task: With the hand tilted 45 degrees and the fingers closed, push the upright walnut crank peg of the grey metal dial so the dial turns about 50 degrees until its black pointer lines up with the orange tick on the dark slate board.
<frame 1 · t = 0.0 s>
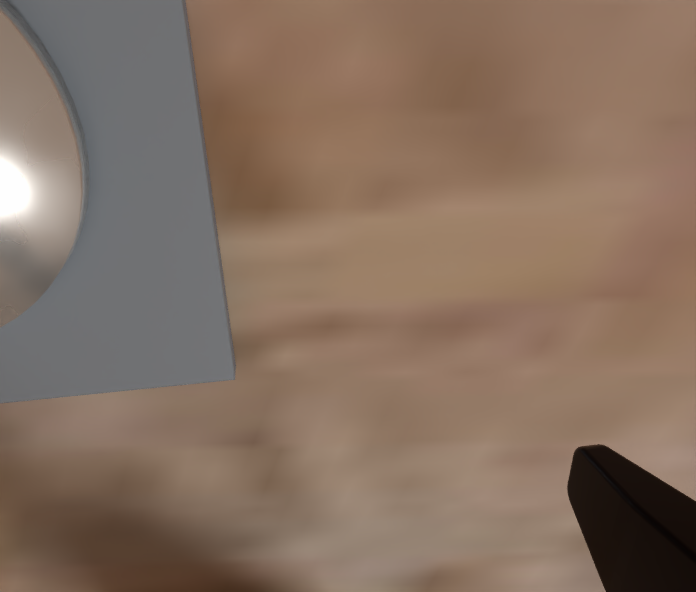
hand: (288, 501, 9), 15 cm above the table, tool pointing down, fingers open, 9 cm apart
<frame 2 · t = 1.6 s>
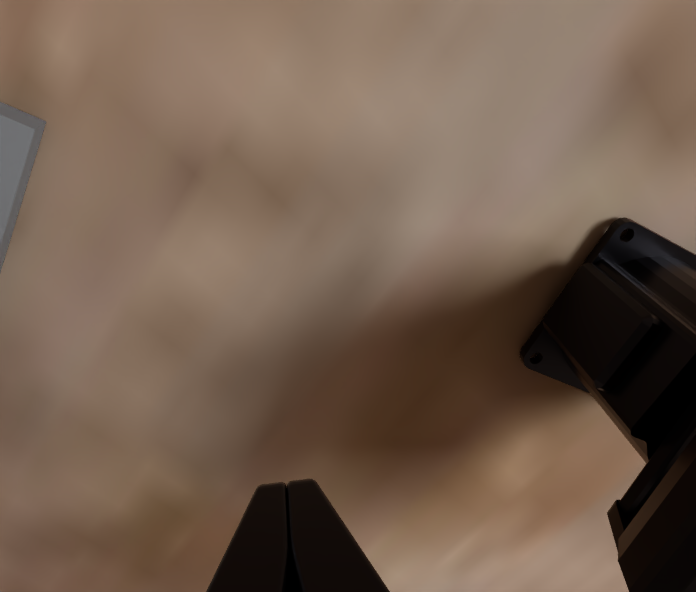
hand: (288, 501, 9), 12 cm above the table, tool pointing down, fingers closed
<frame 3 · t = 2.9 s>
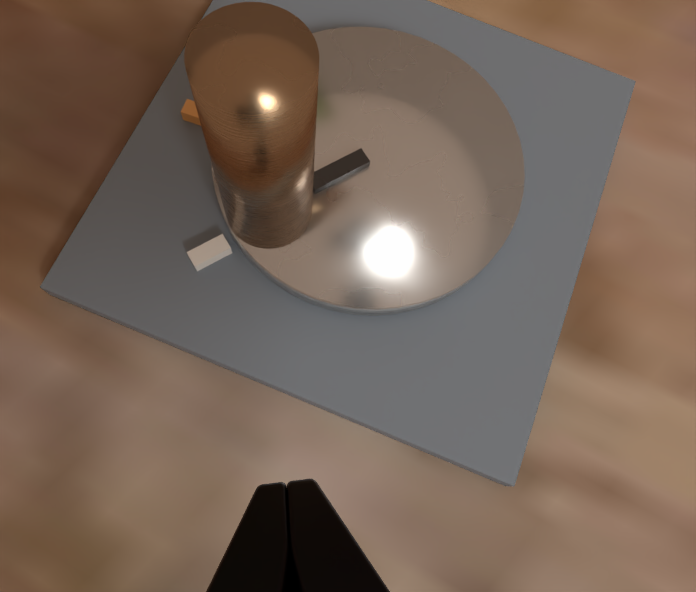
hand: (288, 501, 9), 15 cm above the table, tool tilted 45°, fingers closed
dial: (383, 99, 21), point 6 cm above the table, hinge at 0.0°
dial board: (364, 184, 27), on the table
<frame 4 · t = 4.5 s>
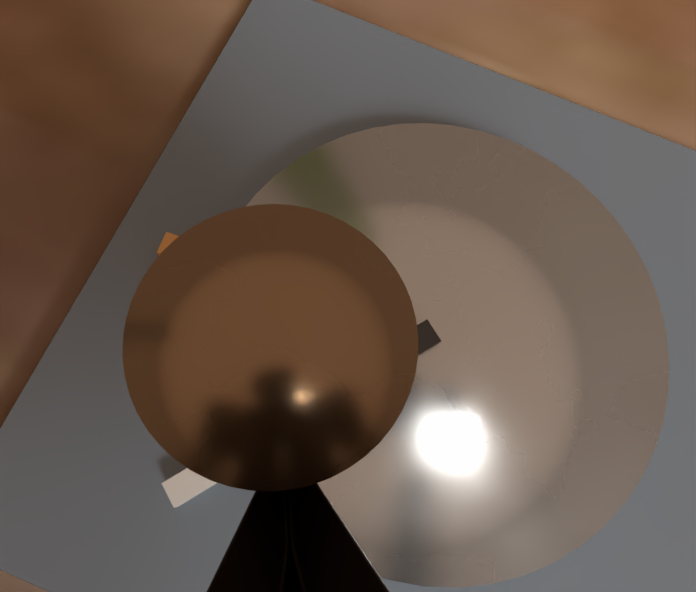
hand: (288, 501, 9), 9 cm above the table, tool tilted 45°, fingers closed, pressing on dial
dial: (480, 283, 13), point 6 cm above the table, hinge at 0.4°, touching gripper
dial board: (422, 347, 19), on the table
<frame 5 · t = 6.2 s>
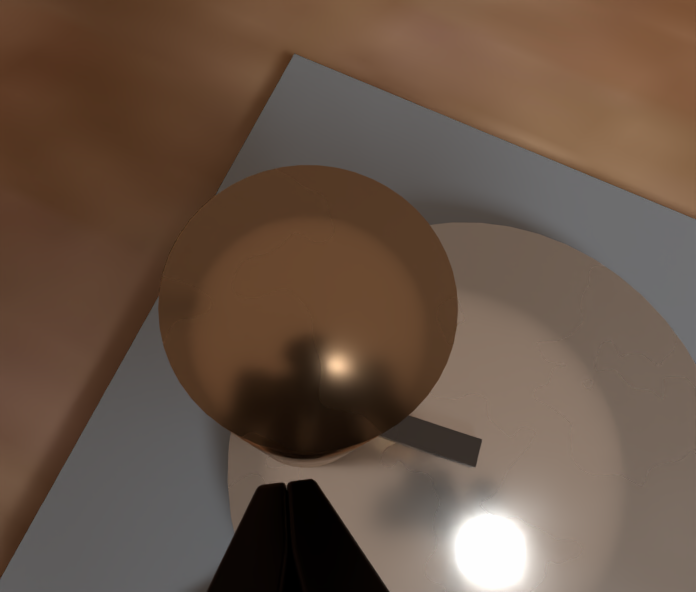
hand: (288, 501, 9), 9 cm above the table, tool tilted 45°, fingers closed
dial: (544, 450, 12), point 6 cm above the table, hinge at 47.9°
dial board: (461, 460, 18), on the table
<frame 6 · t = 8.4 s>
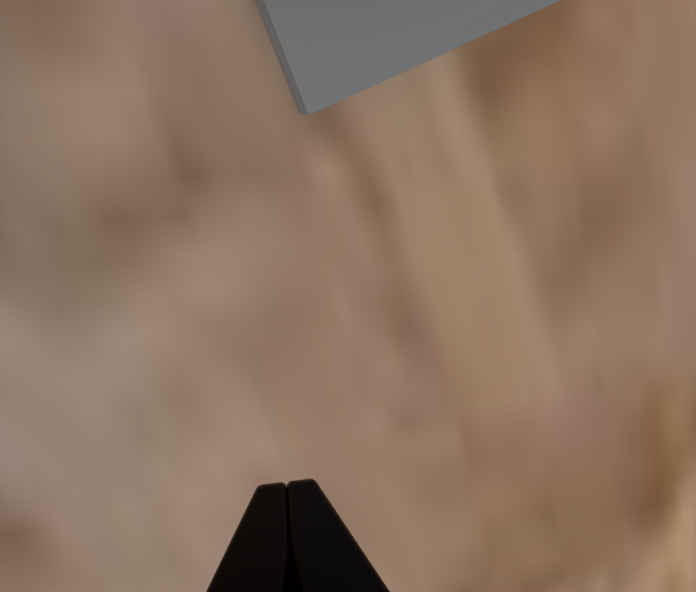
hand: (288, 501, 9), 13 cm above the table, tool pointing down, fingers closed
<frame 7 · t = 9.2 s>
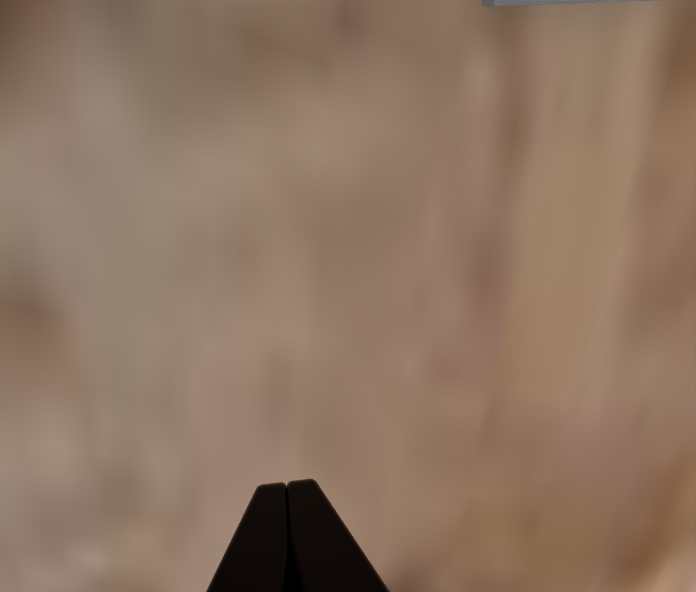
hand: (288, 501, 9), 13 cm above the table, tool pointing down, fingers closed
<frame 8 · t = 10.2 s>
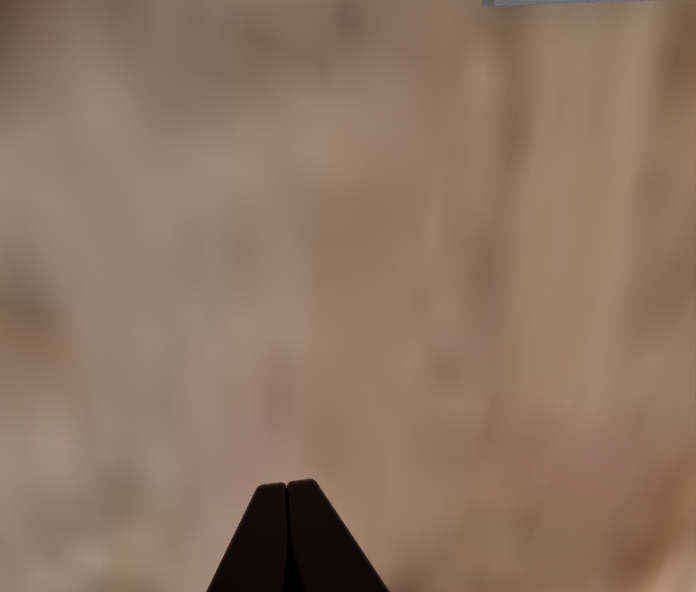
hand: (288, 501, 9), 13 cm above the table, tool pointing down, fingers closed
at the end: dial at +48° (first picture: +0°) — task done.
